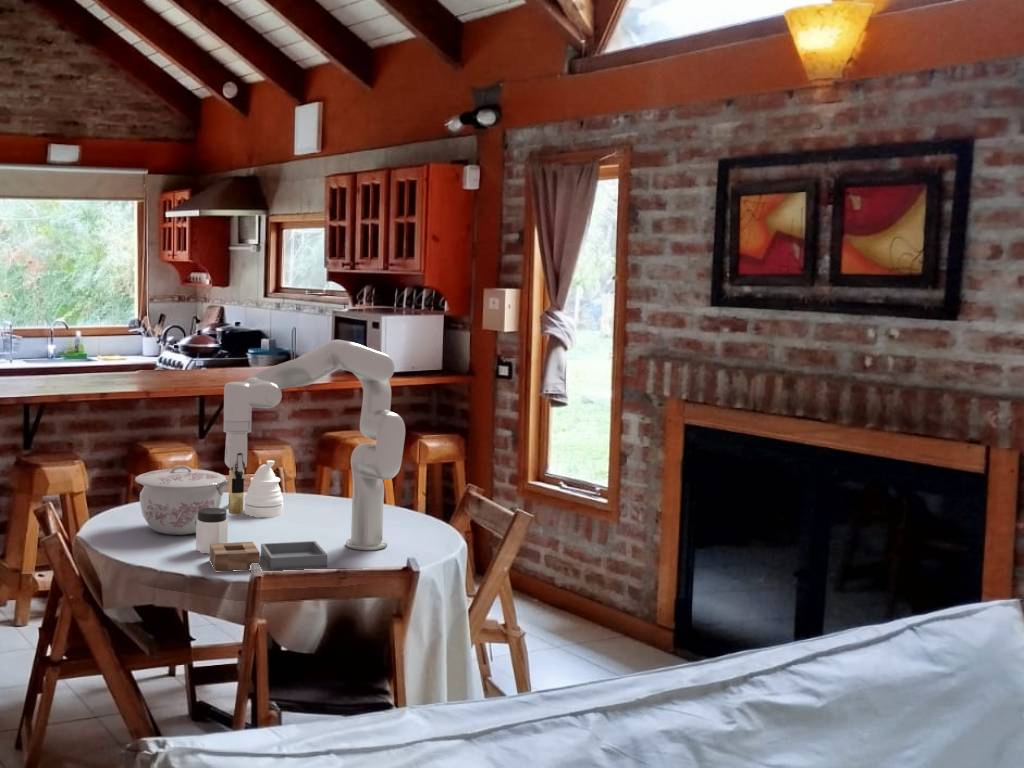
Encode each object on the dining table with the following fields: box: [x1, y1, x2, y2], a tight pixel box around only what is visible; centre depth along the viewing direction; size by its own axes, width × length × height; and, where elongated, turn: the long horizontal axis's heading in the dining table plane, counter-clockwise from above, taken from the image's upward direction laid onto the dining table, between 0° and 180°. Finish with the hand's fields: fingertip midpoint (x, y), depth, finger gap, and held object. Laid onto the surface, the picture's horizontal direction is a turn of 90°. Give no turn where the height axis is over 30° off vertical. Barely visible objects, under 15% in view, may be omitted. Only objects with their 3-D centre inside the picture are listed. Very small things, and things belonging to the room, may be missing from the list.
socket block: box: [209, 541, 261, 572], centre depth 325 cm, size 12×12×5 cm
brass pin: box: [228, 469, 245, 515], centre depth 323 cm, size 4×4×12 cm
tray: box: [260, 540, 329, 571], centre depth 333 cm, size 16×16×4 cm
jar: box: [195, 507, 229, 554], centre depth 339 cm, size 9×8×12 cm
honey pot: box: [243, 460, 284, 519], centre depth 389 cm, size 13×13×18 cm
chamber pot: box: [134, 464, 229, 536], centre depth 360 cm, size 28×28×21 cm
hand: (236, 490), depth 323 cm, fingers closed on brass pin, 4 cm apart
